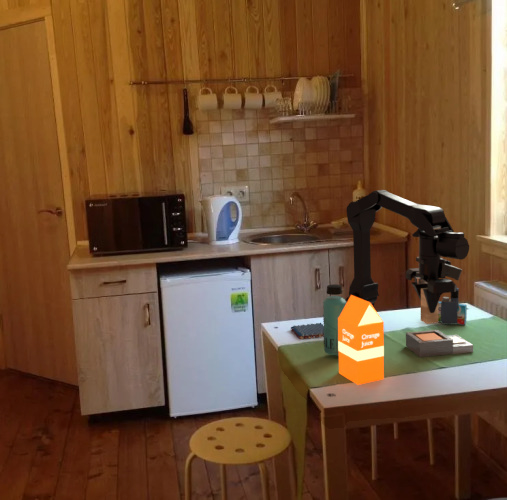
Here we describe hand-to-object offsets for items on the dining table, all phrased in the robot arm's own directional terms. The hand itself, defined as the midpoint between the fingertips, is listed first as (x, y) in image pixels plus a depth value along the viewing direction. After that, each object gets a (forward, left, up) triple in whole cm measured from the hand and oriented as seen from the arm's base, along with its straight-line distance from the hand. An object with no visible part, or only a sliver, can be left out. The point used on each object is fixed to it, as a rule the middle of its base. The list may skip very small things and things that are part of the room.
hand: (429, 310), depth 172 cm
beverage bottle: (-26, +2, -11) cm, 28 cm away
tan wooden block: (0, 0, -3) cm, 3 cm away
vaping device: (+17, +21, -11) cm, 29 cm away
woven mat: (-27, +24, -12) cm, 38 cm away
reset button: (0, 0, -9) cm, 9 cm away
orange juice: (-24, -13, -11) cm, 30 cm away
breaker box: (+3, 0, -11) cm, 12 cm away
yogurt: (+17, +23, -12) cm, 30 cm away
